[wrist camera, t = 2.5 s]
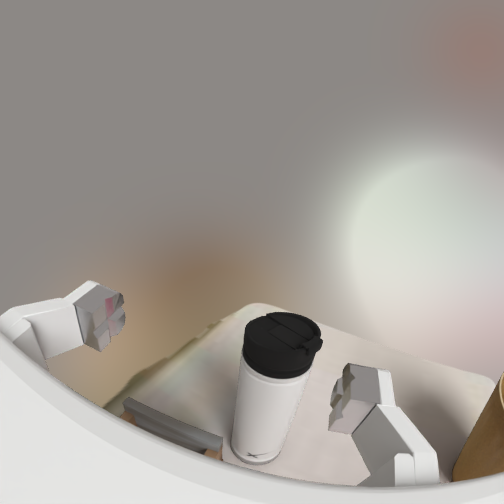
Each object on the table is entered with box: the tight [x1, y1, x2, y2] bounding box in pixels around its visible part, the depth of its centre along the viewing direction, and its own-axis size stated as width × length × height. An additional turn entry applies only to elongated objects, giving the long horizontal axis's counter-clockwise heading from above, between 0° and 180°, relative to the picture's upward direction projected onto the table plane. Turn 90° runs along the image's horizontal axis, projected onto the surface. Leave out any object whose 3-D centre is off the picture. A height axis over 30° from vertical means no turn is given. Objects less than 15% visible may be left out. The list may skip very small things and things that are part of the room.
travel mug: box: [231, 312, 323, 465], centre depth 26 cm, size 6×7×20 cm
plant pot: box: [452, 372, 504, 482], centre depth 17 cm, size 15×15×16 cm
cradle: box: [119, 397, 223, 461], centre depth 22 cm, size 12×12×7 cm
